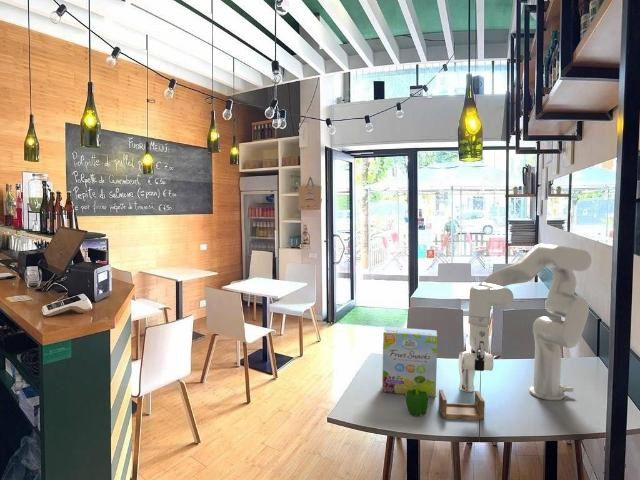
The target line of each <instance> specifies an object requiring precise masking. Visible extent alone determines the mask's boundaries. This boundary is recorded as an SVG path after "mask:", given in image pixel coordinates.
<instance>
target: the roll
mask: <svg viewBox="0 0 640 480" xmlns="http://www.w3.org/2000/svg"><path fill="white" fill-rule="evenodd" d="M462 352H463V353H462V367H463V369H472V370H475V359H476V353H464V352H465V351H462ZM479 354H480V353H478V356H479ZM484 358H485V360H484V371H490V372H491V371H493V370H494V357H493V354H492V353H485V357H484Z"/></svg>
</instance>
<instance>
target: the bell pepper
mask: <svg viewBox="0 0 640 480" xmlns="http://www.w3.org/2000/svg"><path fill="white" fill-rule="evenodd" d="M413 387H415V389H414V390H408V392H407V394H405V404H406V408H407V411H408V412H409V414H410V415H411V416H412V417H413V416H414V417H419V416H424V415H425V414H426V413H427V411H428V407H429V403H430V402H429V400H430V399H429V396H428V395H427V393H426V392H424V391H422V392H421V391H420V390H418V388H417V386H416V385H413Z"/></svg>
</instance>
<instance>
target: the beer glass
mask: <svg viewBox="0 0 640 480" xmlns="http://www.w3.org/2000/svg"><path fill="white" fill-rule="evenodd" d="M463 352H464V353H471V351H460V352H459V355H458V372H459V387H458V389H459V391H461V392H464V393H474V392H475V385H474V379H475V375H476V371H475V370H472V369H463V367H462V353H463Z"/></svg>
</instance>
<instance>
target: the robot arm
mask: <svg viewBox="0 0 640 480" xmlns="http://www.w3.org/2000/svg"><path fill="white" fill-rule="evenodd" d="M591 264H592V256H591V254H590V252H588V251H587V250H586V249H582V248H574V247H568V246H564V245H558V244H549V243H548V244H547V243H539V244H535V245H533V246H532V247H531V248H530V249H529V250H528V251H527V252H526V253H525V254H523V255H522V256H521V257H520V258H519V259H518V260H517V261H515V263H513V264H511V265H508V266H505V267H503V268H501V269H498V270H496V271H494V272H492V273H490V274H489V275H488V276H487V277H485V278H484V279H483V280H482V281H481V282H480V283H479V284H478V285H475V286H471V287H470V289H469V299H468V300H469V303H468V322H467V323H468V324H469V325H470V329H469V346H470V347H471V348H470V352H471V353H476V359H475V372H477V371H478V372H479V371H480V372H483V371H485V370H484V360H485V358H484V357H485V354H489V351H490V349H489V348H490V338H489V337H490V336H489V335H490V332H489V327H490V326H491V309H492V308H491V307H499V308H504V307H508V306H509V305H511V304H512V303H513V301H514V293H513V292H512V290H511V289H510V288H508V287H506V286H510V285H517V284H524V283H527V282H528V283H529V282H530V281H532V280H533V279H534V278H535V277H536V276H537V275H539V273H540V272H542V270H544V269H545V268H546V267H548V268H549V267H550V269H551V272H552V282H551V285H550V288H549V291H548V294H547V297H546V300H545V304H544V308H545V310H546V312H548V313H549V314H552V315H554V316H558V317H560V318H561V317H562V318H564V320H561V319H559V318H555V317H553V316H552V317H551V316H544V315H543V316H539V317H537V318H536V319H535V320H534V322H533V325H532V334H533V337H534V338H533V339H534V369H533V370H534V371H533V373H534V374H533V385H531V386H530V387H529V388H528V389H529V393H530V394H531V395H532V396H534V397H536V398H538V399H542V400H546V401H552V402H553V401H554V402H555V401H561V400H563V399H564V398H565V392H568V393H573V392H574V388H573V386H568V385H566V384H561V380H562V379H561V378H562V374H561V373H562V372H561V371H562V349H561V347H563V348H566V349H567V348H568V349H571V348H575V347H576V346H577V345H578V344H579V342H580V340H581V338H582V335H583V332H584V329H585V325H586V323H587V320H588V317H589V313H590V306H589V303H588V301H587V299H585V298H584V297H582V296H580V295H575V290H576V288H577V277H576V275H575V273H574V272H584V271H586V270H588V269H589V268H590V266H591ZM478 353H480V354H479V356H478Z"/></svg>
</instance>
